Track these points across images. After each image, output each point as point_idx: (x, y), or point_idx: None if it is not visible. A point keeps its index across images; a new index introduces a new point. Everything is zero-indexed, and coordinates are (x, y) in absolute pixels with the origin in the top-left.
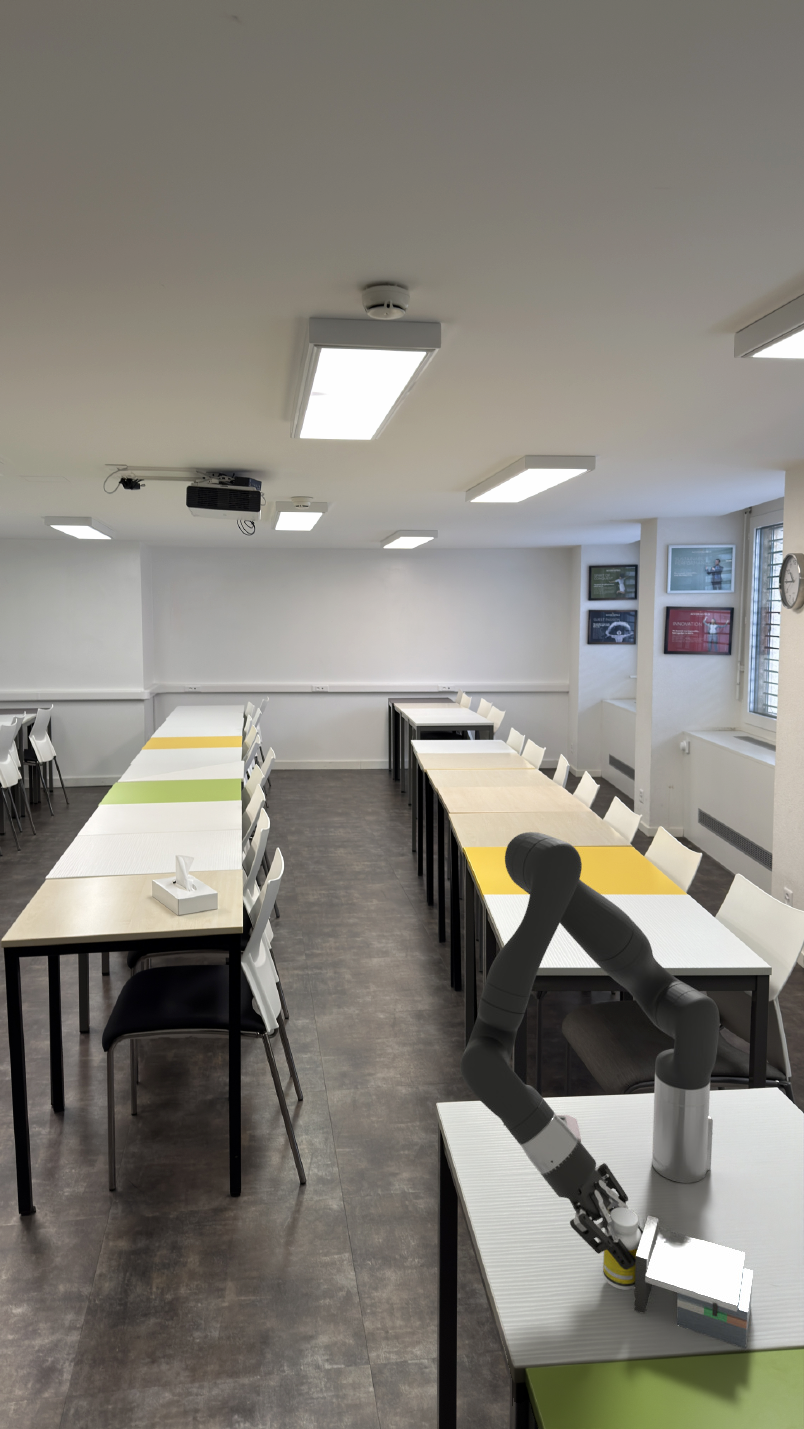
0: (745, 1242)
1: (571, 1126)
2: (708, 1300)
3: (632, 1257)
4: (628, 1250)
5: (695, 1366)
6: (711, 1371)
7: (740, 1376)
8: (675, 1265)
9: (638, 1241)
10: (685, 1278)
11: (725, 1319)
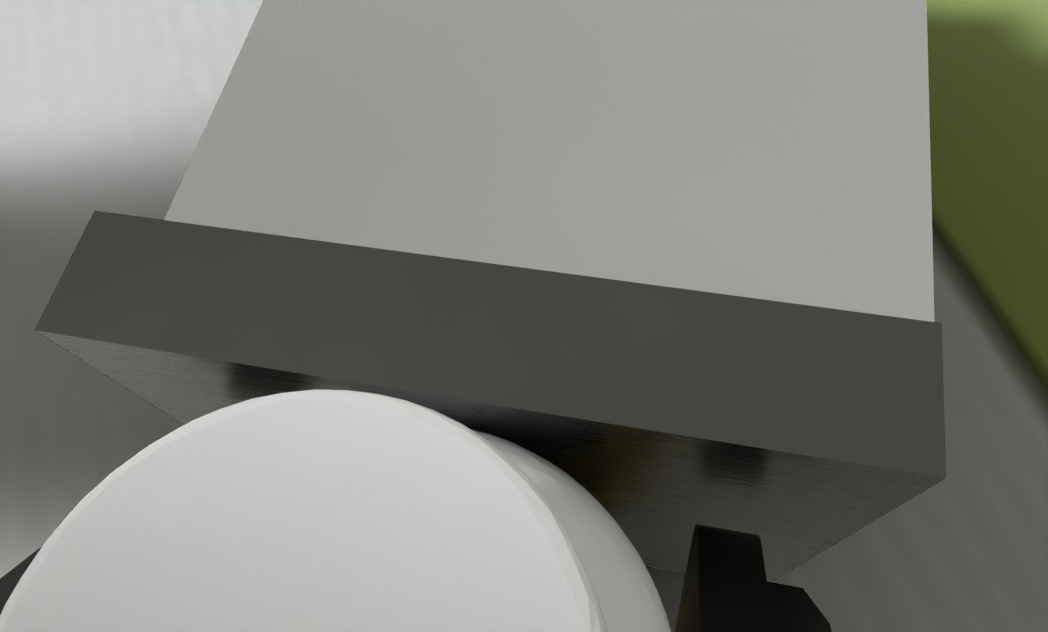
0: (57, 12)
1: None
2: None
3: (735, 558)
4: (704, 612)
5: (1019, 225)
6: (1008, 154)
7: (965, 42)
8: (657, 132)
9: (534, 461)
10: (793, 59)
11: None
